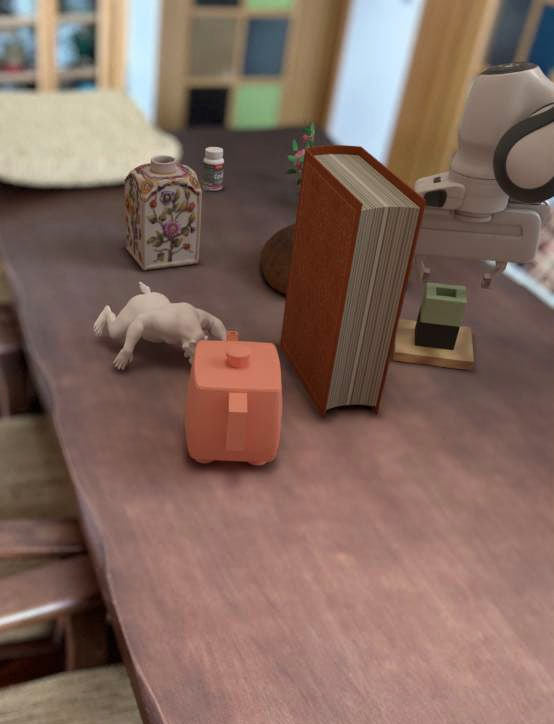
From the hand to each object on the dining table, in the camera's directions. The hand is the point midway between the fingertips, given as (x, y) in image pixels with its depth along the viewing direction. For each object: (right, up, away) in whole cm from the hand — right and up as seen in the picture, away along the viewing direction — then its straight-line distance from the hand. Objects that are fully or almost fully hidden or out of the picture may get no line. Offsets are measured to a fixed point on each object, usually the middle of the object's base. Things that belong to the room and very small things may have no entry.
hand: (454, 284), depth 127 cm
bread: (-13, +10, +28) cm, 32 cm away
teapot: (-36, -26, -14) cm, 46 cm away
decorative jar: (-45, +16, +34) cm, 58 cm away
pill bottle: (-32, +42, +64) cm, 83 cm away
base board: (-1, -8, +7) cm, 11 cm away
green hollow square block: (-1, -4, +3) cm, 5 cm away
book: (-20, -15, -1) cm, 25 cm away
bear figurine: (-45, -9, +6) cm, 46 cm away
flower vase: (-9, +36, +57) cm, 68 cm away
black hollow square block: (-1, -7, +6) cm, 9 cm away
